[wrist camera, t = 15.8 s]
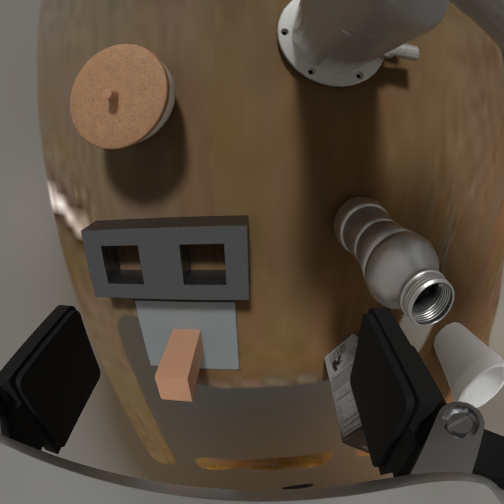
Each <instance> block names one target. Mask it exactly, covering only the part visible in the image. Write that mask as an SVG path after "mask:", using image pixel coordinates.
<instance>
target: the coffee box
mask: <svg viewBox="0 0 504 504" xmlns="http://www.w3.org/2000/svg"><path fill="white" fill-rule="evenodd" d="M358 338H359V337H358V336H356V335H355V334H354V333H353V334H351V335H350V336H349V337H348V338H347V339H346V340H344V341H343V342H342V343H341V344H340V345H338V346H337V347H336V348H335V349H334V350H332V351H331V352H330V353H329V354H328V355H326V356H325V357H324V360H325V364H326V369H327V373H328V377H329V382H330V387H331V391H332V396H333V401H334V405H335V410H336V415H337V420H338V425H339V430H340V434H341V439H342V442H343V443H345V444H347V445H350V446H352V447H354V448H357V449H360V450H362V451H365V452H367V453H369V449H368V445H367V442H366V438H365V434H364V431H363V427H362V423H361V420H360V416H359V413H358V409H357V406H356V402H355V399H354V396H353V392H352V389H351V385H350V375H351V371H352V366H353V362H354V357H355V353H356V348H357V343H358Z"/></svg>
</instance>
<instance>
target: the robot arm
mask: <svg viewBox="0 0 504 504" xmlns="http://www.w3.org/2000/svg"><path fill="white" fill-rule="evenodd" d="M449 2H451V3H452V4H454V5H455V6H456V7H457V8H458V9H459V10H460V11H462V12H463V13H464V14H465V15H467V16H469V17H470V18H471V19H472V20H473V21H474V22H475V23H476V24H477V25H479V26H480V27H481V28H482V29H483V30H484V31H485V32H486V33H487V34H488V35H489V36H490V38H491V39H492V40H493V41H494V42H495V43H496V44H497V45H498V46H499V47H500V48H501V49H502V50H503V51H504V0H292V1H291V2H290V3H289V4H288V5H287V6H286V7H285V9H284V10H283V11H282V13H281V16H280V18H279V21H278V26H277V38H278V43H279V46H280V49H281V51H282V53H283V55H284V57H285V58H286V60H287V61H288V63H289V64H290V65H291V66H292V67H293V68H294V69H295V70H296V71H297V72H299V73H300V74H301V75H303V76H304V77H306V78H308V79H310V80H312V81H313V82H316V83H319V84H322V85H326V86H332V87H347V86H352V85H356V84H358V83H361V82H363V81H365V80H367V79H369V78H370V77H371V76H372V75H373V74H375V73H376V72H377V70H378V69H379V68H380V66H381V64H382V62H383V60H384V58H392V57H393V56H397V57H401V58H402V59H407V60H412V61H417V59H418V57H419V50H418V47H417V46H413V45H409V44H406V43H408V42H410V41H412V40H414V39H416V38H418V37H420V36H422V35H424V34H426V33H428V32H429V31H431V30H432V29H434V28H435V27H436V26H437V25H438V24H439V23H440V22H441V20H442V19H443V17H444V15H445V13H446V11H447V9H448V6H449ZM283 32H285V33H286V35H283V34H282V33H283ZM308 71H312V74H309V73H308ZM356 75H359V78H357V77H356ZM99 378H100V369H99V366H98V364H97V361H96V358H95V356H94V353H93V350H92V348H91V345H90V342H89V339H88V336H87V334H86V330H85V327H84V324H83V321H82V318H81V315H80V313H79V312H78V311H76V309H75V307H73V306H64V305H59V306H57V307H56V308H55V309H54V310H53V312H52V313H51V314H50V315H49V316H48V317H47V318H46V319H45V320H44V321H43V322H42V323H41V325H40V326H39V327H38V328H37V329H36V330H35V331H34V332H33V334H32V335H31V336H30V337H29V338H28V339H27V340H26V342H25V343H24V344H23V345H22V346H21V347H20V348H19V350H18V351H17V352H16V353H15V354H14V355H13V357H12V358H11V359H10V360H9V362H8V363H7V364H6V365H5V366H4V368H3V369H2V370H1V371H0V504H504V436H501V435H498V434H496V433H493V432H490V431H488V430H485V429H484V419H483V416H482V415H481V413H480V411H479V410H478V409H477V408H475V407H474V406H473V405H471V404H468V403H466V402H460V401H457V402H451V403H448V404H447V403H446V402H445V400H444V398H443V396H442V394H441V392H440V390H439V389H438V387H437V385H436V383H435V381H434V380H433V378H432V376H431V374H430V373H429V371H428V369H427V367H426V366H425V364H424V362H423V360H422V359H421V357H420V355H419V354H418V352H417V350H416V349H415V348H414V346H411V344H410V343H409V341H408V339H407V338H406V336H405V334H404V333H403V331H402V329H401V328H400V326H399V324H398V323H397V321H396V320H395V318H394V316H393V315H392V313H391V311H390V310H389V309H388V308H386V307H385V308H371V309H369V311H368V313H365V314H364V315H363V318H362V323H361V328H360V333H359V338H358V343H357V348H356V353H355V357H354V362H353V366H352V371H351V375H350V385H351V389H352V392H353V396H354V399H355V402H356V406H357V409H358V413H359V416H360V420H361V423H362V427H363V431H364V434H365V438H366V442H367V445H368V449H369V453H370V457H371V460H372V464H373V466H374V467H379V471H380V475H382V474H388V473H393V476H394V477H393V478H387V479H381V480H374V481H368V482H362V483H355V484H347V485H339V486H331V487H318V488H306V489H289V490H231V489H215V488H202V487H192V486H183V485H176V484H168V483H162V482H155V481H150V480H144V479H139V478H134V477H129V476H124V475H120V474H116V473H111V472H108V471H104V470H100V469H96V468H92V467H89V466H85V465H82V464H79V463H75V462H72V461H69V460H66V459H63V458H60V457H57V456H54V455H51V454H48V453H46V452H43V451H41V449H42V447H44V448H45V449H46V450H48V451H51V452H54V453H56V454H58V453H59V451H60V449H61V447H64V446H65V444H66V442H67V440H68V438H69V436H70V434H71V432H72V430H73V428H74V426H75V424H76V422H77V420H78V418H79V416H80V414H81V412H82V410H83V408H84V406H85V405H86V402H87V401H88V399H89V397H90V395H91V393H92V391H93V389H94V387H95V386H96V384H97V382H98V380H99Z"/></svg>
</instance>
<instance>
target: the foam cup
mask: <svg viewBox="0 0 504 504" xmlns="http://www.w3.org/2000/svg"><path fill="white" fill-rule="evenodd" d="M433 345H434V349H435V352H436V354H437V357H438V359H439V361H440V364H441V366H442V369H443V371H444V374H445V376H446V379H447V381H448V384H449V386H450V389H451V392H452V398H453V400H454V402H457V401H460V402H466V403H468V404H471V405H473V406H474V407H475V408H478V407H480V406H481V405H483V404H485V403H486V402H487V401H489V400H490V399H491V398H492V397H494V396H495V394H496V393H497V392H498V391H499V390H500V389H501V387H502V386H503V384H504V361H503V359H502V358H501V357H500V356H499V355H498V354H497V353H494V352H493V351H492V350H491V349H490V348H489V347H488V346H486V345H485V344H484V343H483V342H482V341H481V340H480V339H478V338H477V337H476V336H475V335H474V334H473V333H471V332H470V331H469V330H468V329H467V328H465V327H464V326H463V325H462V324H460V323H458V322H453V323H450V324H448V325H446V326H445V327H444V328H442V329H441V330H440V331H439V333H438V334H437V335H436V337H435V340H434V343H433Z"/></svg>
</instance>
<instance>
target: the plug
mask: <svg viewBox="0 0 504 504" xmlns="http://www.w3.org/2000/svg"><path fill="white" fill-rule="evenodd" d="M203 352H204V351H203V344H202V337H201V330H192V329H173V330H172V333H171V335H170V338H169V340H168V343H167V346H166V348H165V351H164V353H163V356H162V359H161V361H160V364H159V367H158V369H157V372H156V375H155V380H156V383H157V386H158V389H159V393H160V396H161V399H168V400H179V401H193V396H194V391H195V387H196V383H197V378H198V374H199V369H200V365H201V361H202V356H203Z"/></svg>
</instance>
